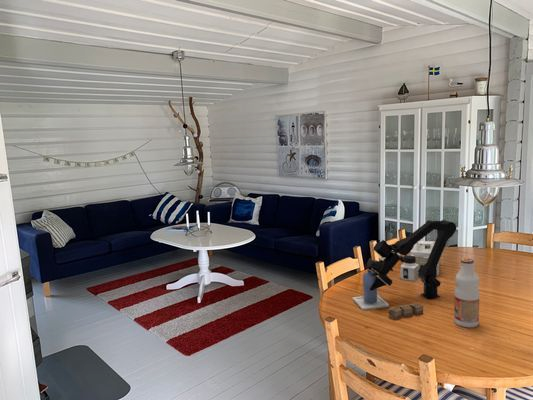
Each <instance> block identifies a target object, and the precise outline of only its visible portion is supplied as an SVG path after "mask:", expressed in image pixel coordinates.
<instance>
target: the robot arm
mask: <svg viewBox="0 0 533 400" xmlns="http://www.w3.org/2000/svg"><path fill="white" fill-rule="evenodd" d="M434 230H436V233H437V234H436V235H437V236H436V239H435V241H434V242H435V244H434V246H433V248H432V251H431V253H430V256H429V258H428V261H427V263H426V264H425V265H420V269H419V270H418V276H419V277H418V279H420V280H421V282H422V283H423V293H421V294H420V295H421V296H423V297H424V298H426V299H429V300H433V299H437V298H441V296H440V295H439V294H438V287H440V286H441V283H442V282H441V281H439V279H437V276H436V275H437V268H436V267H437V264H438V262H439V263H440V259H441V257H442V254H443V252H444V249H445V247H446V245H447V242H448V241H449V239H451V238H452V237H453V236H454V234H455V233H456V231H457V224H456V223H455V222H454V221H449V220H447V219H442V220H431V219H429V220H426V221H425V222H424V223H423V224H422V225H421V226H419V227H418V228H417V229H416V230H415V231H413V232H412V233H411V234H409V235H408V236H406V237H403V238H401V239H399V240H397V241H395V242H394V243H392V244H388V242H387V241H386V240H384V239H382V240H381V241H379V242H377V243H375V244H374V246H373V251H374V252H375V253H376V254H377V255H379V256H380V257H381V258H383V260H382V259H379V260H377V259H376V260H375V259H372V258H368V260H367V261H366V268H367V273H368V272H371V273H375V274H377V276H376V280H375V282H374V283H373V285H372V286H371V287H370V290H371V291H372V290H374V289H377V290H378V289H379V288H381V287H383V286H384V287H385V286H387V285H388V287H390V286H391V285H393V280H392V279H391V278H390V277H389V276H388V274H389V273H390V272H394V269H393V268H394V267H395V266H396V265H397V264H398V262H401V263H402V264H404V263H403V262H404V261H403V257H404V256H405V255H409V253H410V251H411V250H412V249H413V247H414V245H415V244H416V243H417V242H418V241H422V239H423V238H425V237H426V236H427V235H429V234H430V233H432V231H434Z"/></svg>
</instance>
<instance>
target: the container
mask: <svg viewBox="0 0 533 400" xmlns="http://www.w3.org/2000/svg"><path fill="white" fill-rule="evenodd" d="M403 261H404V262H403V263H402V264H401V265H400V279H401V280H404V281H405V280H406V281H411V282H415V281H417V279H419V276H418V270H419V266H418V264H416V257H415V256H413V255H411V254H407V255H403Z"/></svg>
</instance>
